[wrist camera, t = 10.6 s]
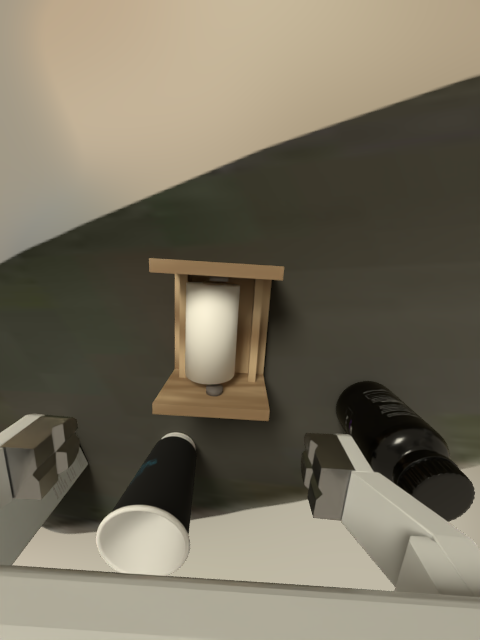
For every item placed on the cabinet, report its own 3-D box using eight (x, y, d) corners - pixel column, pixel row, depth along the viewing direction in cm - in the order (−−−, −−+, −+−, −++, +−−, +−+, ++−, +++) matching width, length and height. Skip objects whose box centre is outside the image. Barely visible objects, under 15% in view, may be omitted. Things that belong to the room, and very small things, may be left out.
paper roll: (202, 279, 26) (175, 281, 21) (247, 283, 24) (227, 287, 20) (200, 360, 28) (174, 378, 23) (241, 369, 26) (222, 390, 22)
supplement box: (14, 428, 31) (-139, 538, 18) (68, 417, 30) (-51, 522, 18) (38, 475, 32) (-88, 606, 20) (90, 465, 32) (-6, 592, 20)
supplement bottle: (322, 411, 30) (375, 507, 18) (359, 368, 28) (441, 442, 17) (366, 439, 30) (442, 548, 19) (403, 398, 29) (511, 489, 17)
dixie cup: (148, 417, 30) (95, 502, 19) (211, 426, 30) (194, 515, 20) (144, 469, 32) (93, 574, 21) (203, 478, 32) (184, 586, 21)
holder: (177, 259, 26) (149, 258, 18) (271, 265, 26) (284, 266, 18) (177, 373, 29) (152, 413, 21) (261, 378, 29) (268, 421, 21)
